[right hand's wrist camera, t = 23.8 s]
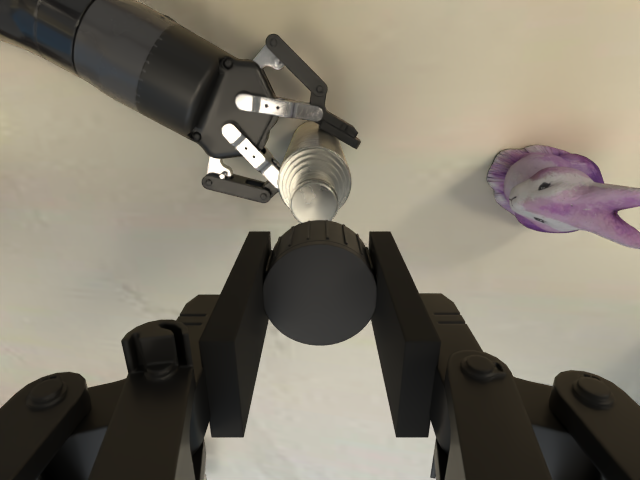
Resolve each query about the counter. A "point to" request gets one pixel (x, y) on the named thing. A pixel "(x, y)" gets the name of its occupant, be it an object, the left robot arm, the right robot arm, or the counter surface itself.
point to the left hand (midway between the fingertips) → (341, 171)
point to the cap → (319, 283)
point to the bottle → (314, 174)
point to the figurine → (562, 194)
